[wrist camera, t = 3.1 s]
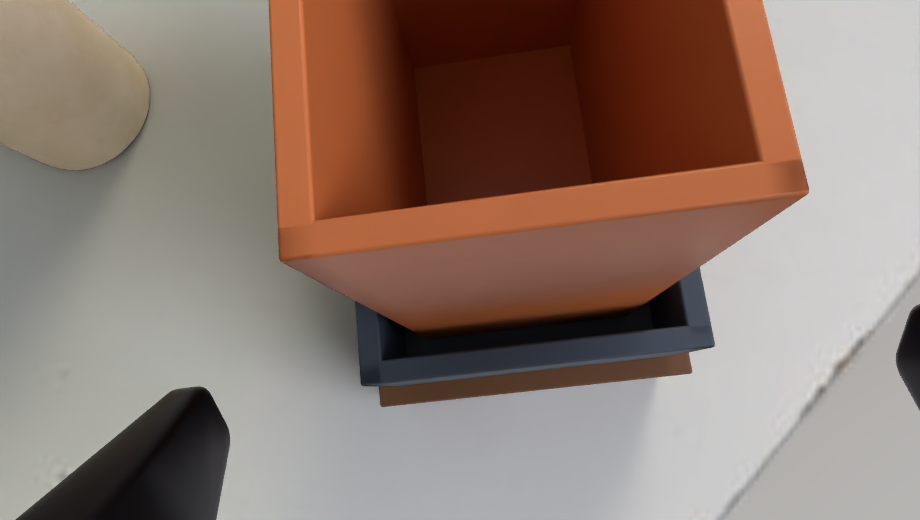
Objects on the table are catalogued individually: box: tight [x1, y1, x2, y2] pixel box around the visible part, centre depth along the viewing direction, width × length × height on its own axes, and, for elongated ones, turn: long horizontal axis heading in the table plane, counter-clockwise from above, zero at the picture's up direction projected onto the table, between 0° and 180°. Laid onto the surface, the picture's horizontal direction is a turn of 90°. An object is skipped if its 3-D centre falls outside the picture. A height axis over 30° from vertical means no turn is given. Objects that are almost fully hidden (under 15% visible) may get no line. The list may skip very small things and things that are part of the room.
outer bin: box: [355, 267, 715, 407], centre depth 17 cm, size 11×8×8 cm
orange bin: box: [269, 0, 809, 339], centre depth 12 cm, size 8×5×10 cm, turn 6°
